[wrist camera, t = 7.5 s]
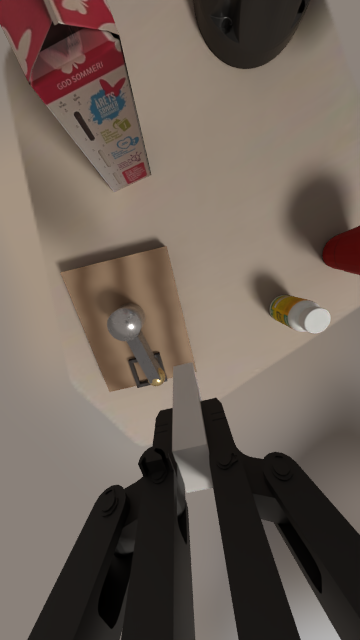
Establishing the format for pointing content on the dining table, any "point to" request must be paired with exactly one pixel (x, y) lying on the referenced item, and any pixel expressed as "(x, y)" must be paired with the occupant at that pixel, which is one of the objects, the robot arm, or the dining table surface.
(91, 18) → the juice carton
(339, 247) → the plastic cup
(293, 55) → the dining table surface
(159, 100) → the dining table surface
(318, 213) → the dining table surface
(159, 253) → the lever stand
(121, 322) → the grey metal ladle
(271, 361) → the dining table surface
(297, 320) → the supplement bottle
